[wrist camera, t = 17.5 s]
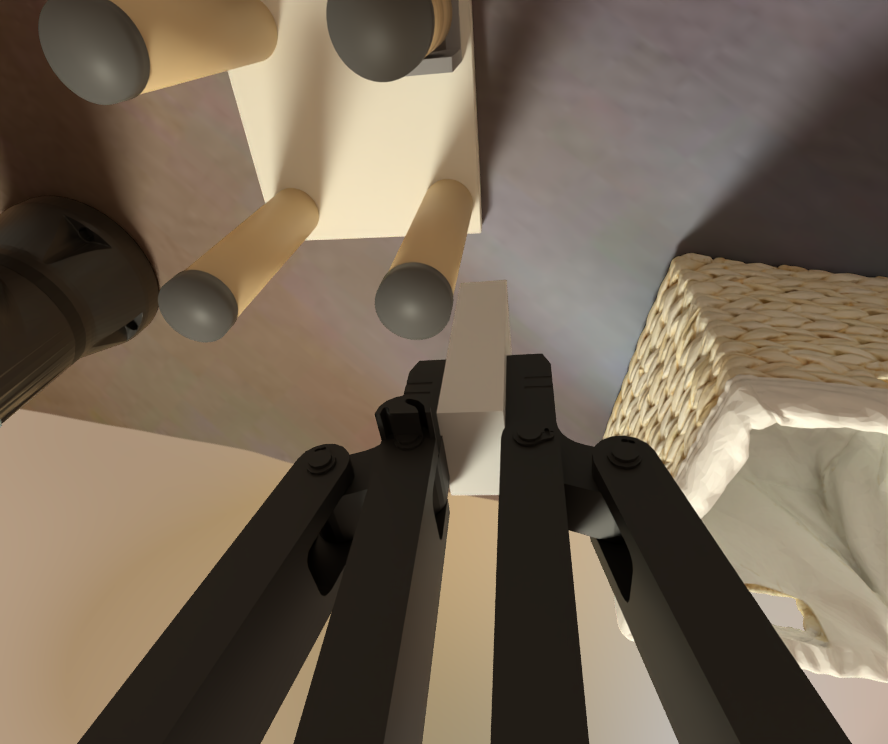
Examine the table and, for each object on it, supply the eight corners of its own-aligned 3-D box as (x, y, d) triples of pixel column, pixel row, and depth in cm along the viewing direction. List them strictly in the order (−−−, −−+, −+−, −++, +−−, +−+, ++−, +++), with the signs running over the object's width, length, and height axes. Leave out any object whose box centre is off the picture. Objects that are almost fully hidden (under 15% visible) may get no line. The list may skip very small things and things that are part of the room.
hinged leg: (460, 48, 33) (395, 54, 34) (455, -36, 31) (385, -27, 32) (436, 77, 22) (338, 86, 22) (425, -53, 19) (315, -39, 20)
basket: (825, 496, 59) (953, 710, 41) (584, 462, 60) (609, 656, 43) (992, 275, 43) (1318, 472, 25) (658, 236, 44) (748, 398, 27)
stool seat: (284, 233, 48) (171, 348, 32) (215, -21, 37) (-3, -30, 22) (482, 224, 45) (461, 345, 30) (469, -52, 35) (426, -87, 19)
